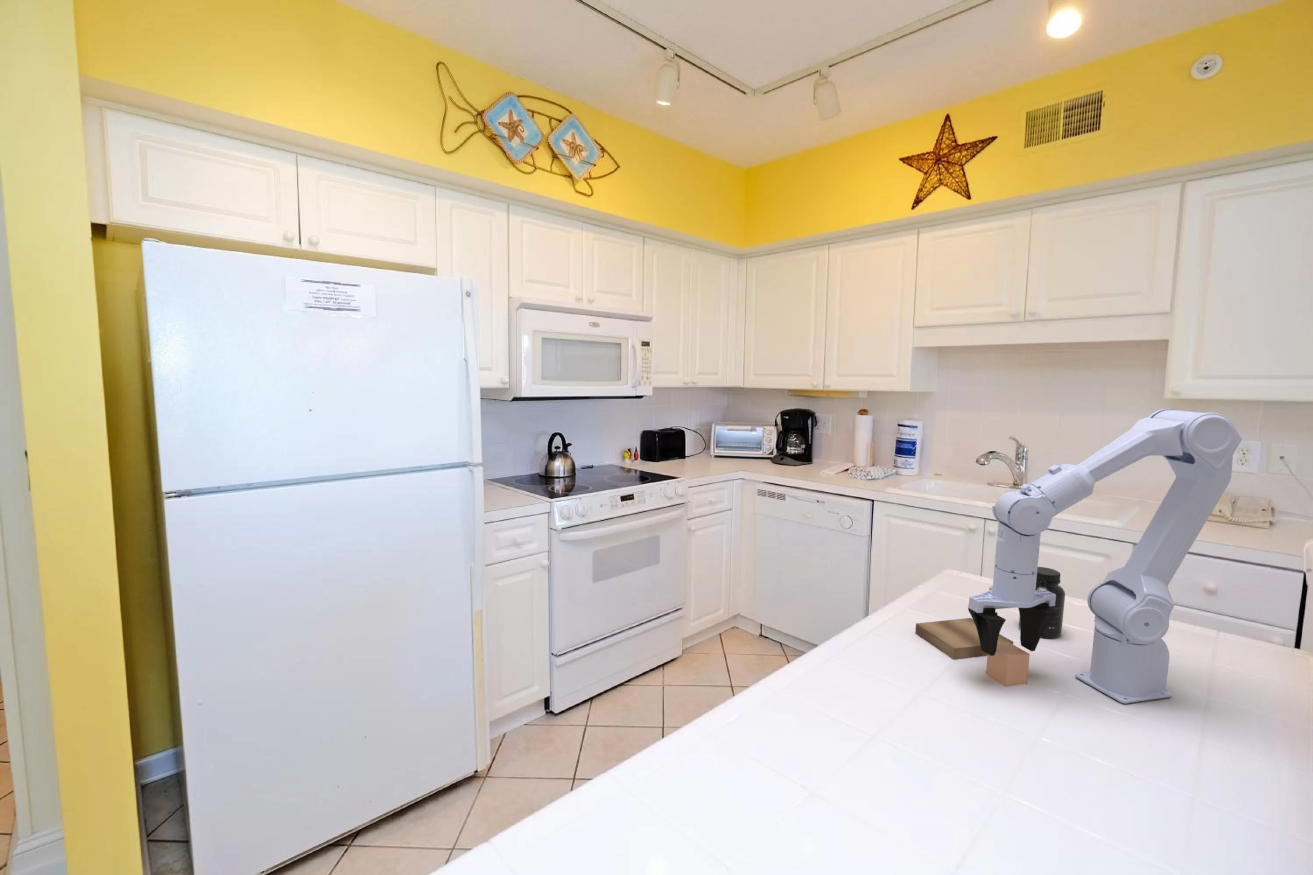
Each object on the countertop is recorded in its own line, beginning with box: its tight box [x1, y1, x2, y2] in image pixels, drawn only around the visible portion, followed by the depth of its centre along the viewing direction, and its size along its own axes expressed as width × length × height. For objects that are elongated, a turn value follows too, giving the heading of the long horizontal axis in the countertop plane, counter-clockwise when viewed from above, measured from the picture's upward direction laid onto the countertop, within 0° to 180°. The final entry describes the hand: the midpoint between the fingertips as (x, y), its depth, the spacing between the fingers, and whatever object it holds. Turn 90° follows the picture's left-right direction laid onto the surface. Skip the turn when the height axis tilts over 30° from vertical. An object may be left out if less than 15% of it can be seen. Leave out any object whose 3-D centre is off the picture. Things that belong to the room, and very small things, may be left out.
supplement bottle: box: [1018, 566, 1066, 639], centre depth 109 cm, size 7×7×12 cm
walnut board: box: [915, 617, 1014, 660], centre depth 105 cm, size 12×10×2 cm
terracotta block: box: [985, 642, 1030, 687], centre depth 92 cm, size 4×4×5 cm
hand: (1007, 650), depth 92 cm, fingers open, 7 cm apart
